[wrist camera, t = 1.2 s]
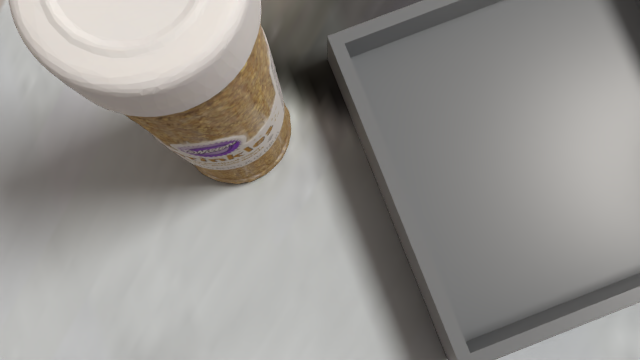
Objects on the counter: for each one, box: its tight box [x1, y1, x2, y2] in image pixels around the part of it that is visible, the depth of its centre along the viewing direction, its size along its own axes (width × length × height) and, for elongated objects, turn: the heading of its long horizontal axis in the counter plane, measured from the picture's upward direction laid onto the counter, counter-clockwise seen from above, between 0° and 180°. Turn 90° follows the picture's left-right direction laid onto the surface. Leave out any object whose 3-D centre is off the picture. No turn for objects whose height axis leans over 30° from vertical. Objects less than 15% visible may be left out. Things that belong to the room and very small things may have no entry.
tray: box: [327, 0, 640, 360], centre depth 22 cm, size 13×13×2 cm
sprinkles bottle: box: [9, 0, 291, 184], centre depth 17 cm, size 5×5×14 cm
